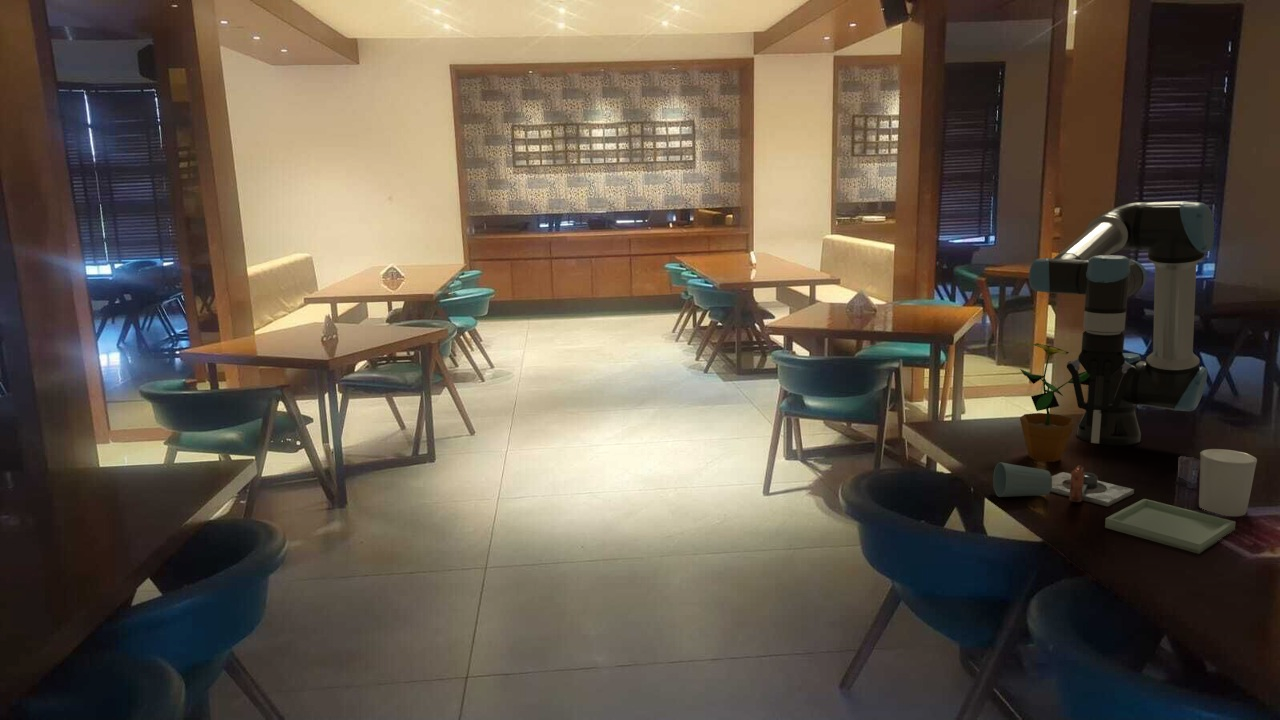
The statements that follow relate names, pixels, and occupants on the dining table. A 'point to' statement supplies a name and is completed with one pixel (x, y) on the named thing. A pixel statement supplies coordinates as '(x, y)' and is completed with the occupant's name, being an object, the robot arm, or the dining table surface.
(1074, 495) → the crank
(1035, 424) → the potted plant
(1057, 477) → the crank plate
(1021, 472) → the cup
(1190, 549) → the tray
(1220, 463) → the candle holder
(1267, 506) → the dining table surface
